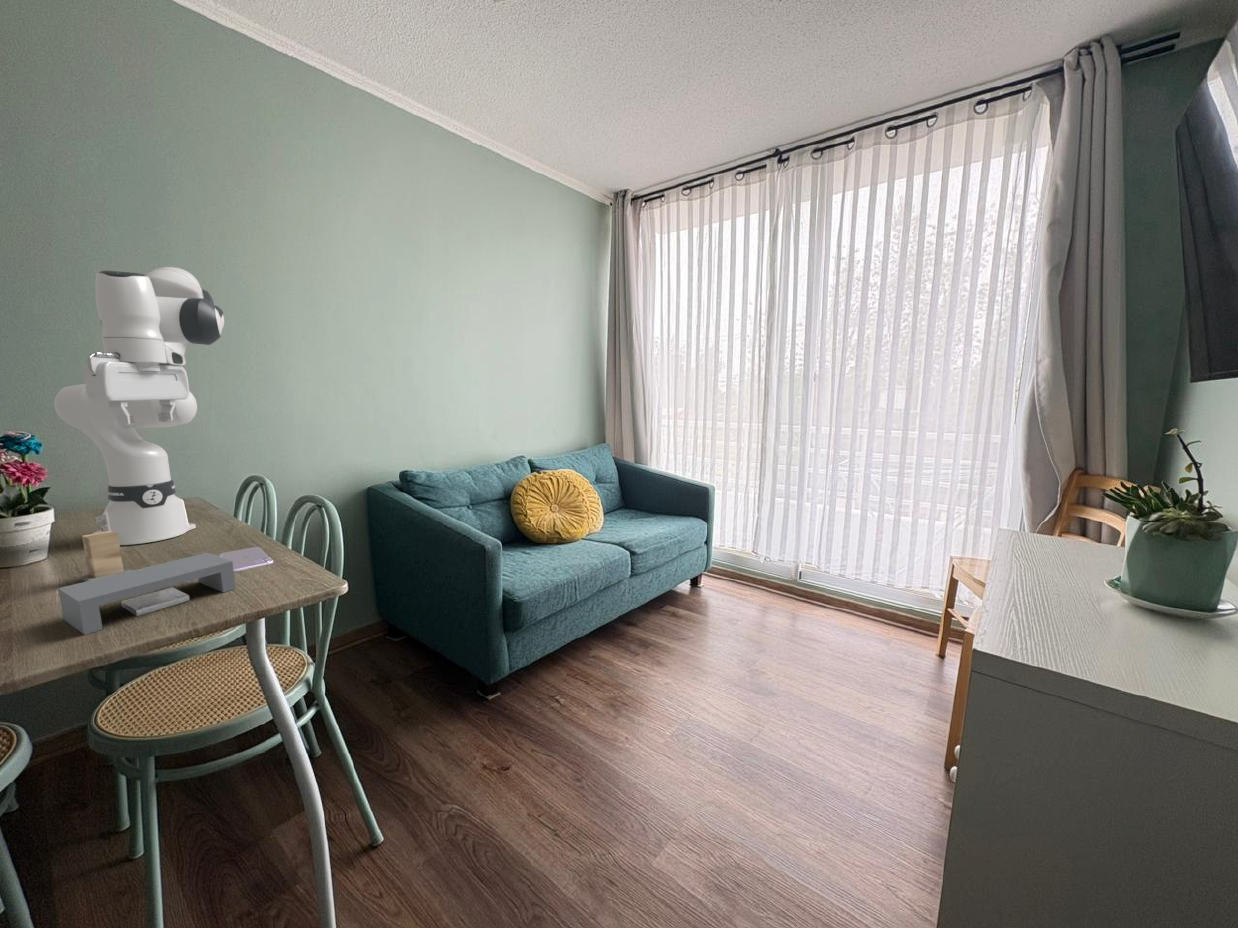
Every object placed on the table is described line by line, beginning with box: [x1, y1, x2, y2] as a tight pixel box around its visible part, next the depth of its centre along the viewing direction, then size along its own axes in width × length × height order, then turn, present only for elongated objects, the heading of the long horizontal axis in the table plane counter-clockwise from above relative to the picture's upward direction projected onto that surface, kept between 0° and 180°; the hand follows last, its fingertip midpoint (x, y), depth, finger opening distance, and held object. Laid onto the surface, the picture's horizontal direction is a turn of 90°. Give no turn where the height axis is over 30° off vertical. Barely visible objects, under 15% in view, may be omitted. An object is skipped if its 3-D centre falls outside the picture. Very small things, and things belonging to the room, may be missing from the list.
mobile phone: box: [218, 546, 274, 573], centre depth 108 cm, size 8×1×15 cm
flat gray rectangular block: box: [120, 586, 190, 617], centre depth 85 cm, size 7×7×2 cm
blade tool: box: [81, 531, 133, 582], centre depth 93 cm, size 16×6×9 cm, turn 61°
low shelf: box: [57, 552, 237, 636], centre depth 85 cm, size 10×20×6 cm, turn 151°
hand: (147, 423), depth 99 cm, fingers open, 8 cm apart
